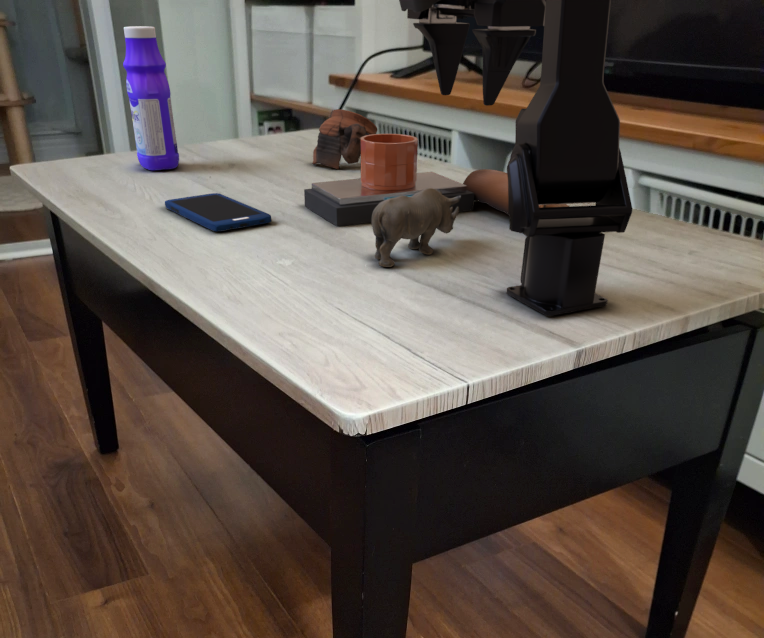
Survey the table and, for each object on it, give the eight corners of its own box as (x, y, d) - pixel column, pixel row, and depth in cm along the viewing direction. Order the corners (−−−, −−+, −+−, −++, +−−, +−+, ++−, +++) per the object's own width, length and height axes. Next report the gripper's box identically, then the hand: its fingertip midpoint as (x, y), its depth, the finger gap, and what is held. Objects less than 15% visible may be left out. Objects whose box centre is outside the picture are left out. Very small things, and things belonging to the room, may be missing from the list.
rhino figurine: (474, 241, 82) (478, 181, 78) (391, 270, 73) (392, 205, 70) (443, 233, 84) (446, 175, 81) (359, 261, 76) (359, 198, 72)
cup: (425, 187, 90) (427, 141, 87) (375, 192, 88) (375, 145, 85) (400, 176, 95) (401, 132, 92) (352, 181, 93) (351, 135, 90)
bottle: (135, 164, 113) (112, 25, 103) (173, 161, 115) (155, 24, 105) (144, 173, 108) (121, 28, 98) (184, 170, 110) (166, 27, 100)
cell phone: (215, 232, 83) (214, 225, 83) (162, 206, 92) (161, 200, 92) (274, 222, 87) (273, 215, 86) (217, 198, 96) (217, 192, 95)
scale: (473, 210, 93) (475, 185, 91) (336, 226, 86) (336, 200, 84) (433, 192, 100) (434, 169, 98) (304, 206, 93) (303, 182, 92)
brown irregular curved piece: (299, 164, 116) (316, 109, 115) (353, 190, 121) (370, 137, 120) (327, 156, 106) (346, 95, 105) (385, 184, 111) (403, 127, 109)
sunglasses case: (602, 227, 85) (585, 174, 80) (551, 265, 85) (531, 214, 80) (517, 192, 98) (498, 145, 94) (474, 225, 98) (453, 180, 94)
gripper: (365, -75, 80) (365, 93, 89) (455, -85, 66) (445, 115, 75) (456, -72, 84) (448, 89, 93) (559, -80, 70) (538, 109, 79)
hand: (466, 100), depth 85 cm, fingers open, 9 cm apart
